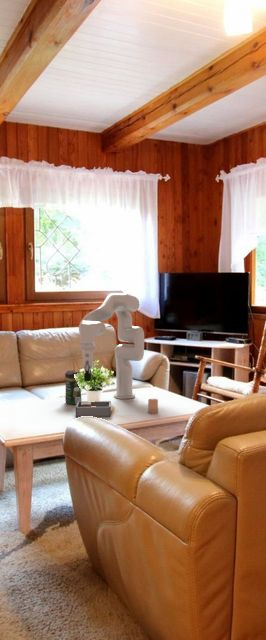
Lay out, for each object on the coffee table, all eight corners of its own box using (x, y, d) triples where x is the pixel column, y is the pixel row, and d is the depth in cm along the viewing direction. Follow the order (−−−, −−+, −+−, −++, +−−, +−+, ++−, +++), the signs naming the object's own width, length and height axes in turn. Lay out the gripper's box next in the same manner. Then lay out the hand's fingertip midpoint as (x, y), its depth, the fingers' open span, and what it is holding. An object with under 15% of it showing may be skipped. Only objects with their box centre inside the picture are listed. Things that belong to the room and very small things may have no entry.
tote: (78, 410, 285) (78, 401, 285) (111, 410, 285) (110, 401, 285) (75, 417, 272) (75, 407, 271) (110, 416, 272) (110, 407, 272)
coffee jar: (63, 402, 304) (62, 370, 303) (76, 400, 308) (75, 369, 307) (70, 405, 296) (70, 372, 295) (83, 404, 300) (83, 371, 299)
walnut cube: (91, 411, 281) (91, 402, 281) (90, 413, 276) (90, 404, 276) (81, 411, 281) (81, 402, 281) (80, 413, 276) (80, 404, 276)
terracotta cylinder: (148, 411, 282) (148, 398, 282) (157, 411, 283) (157, 398, 282) (148, 414, 278) (148, 400, 277) (158, 414, 278) (158, 400, 277)
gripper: (94, 348, 268) (94, 382, 269) (95, 344, 285) (95, 376, 286) (79, 348, 267) (79, 382, 268) (80, 344, 284) (81, 376, 286)
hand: (87, 379), depth 277 cm, fingers open, 9 cm apart
